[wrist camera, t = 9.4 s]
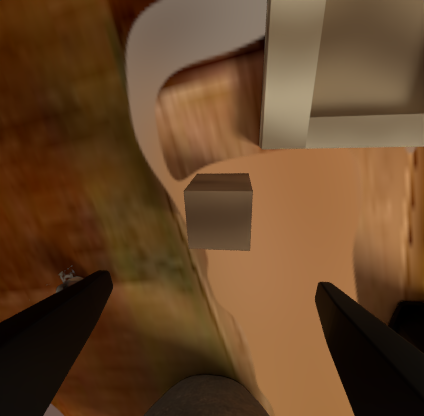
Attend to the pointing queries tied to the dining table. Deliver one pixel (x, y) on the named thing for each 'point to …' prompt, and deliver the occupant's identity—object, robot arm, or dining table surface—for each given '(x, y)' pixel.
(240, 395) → the ceramic pot
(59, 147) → the dining table surface
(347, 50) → the puzzle board
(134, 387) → the dining table surface
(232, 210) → the block
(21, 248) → the dining table surface
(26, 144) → the dining table surface
